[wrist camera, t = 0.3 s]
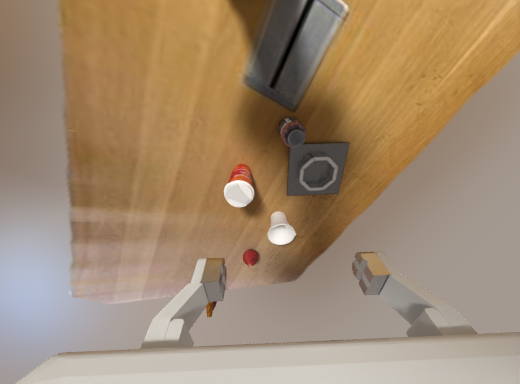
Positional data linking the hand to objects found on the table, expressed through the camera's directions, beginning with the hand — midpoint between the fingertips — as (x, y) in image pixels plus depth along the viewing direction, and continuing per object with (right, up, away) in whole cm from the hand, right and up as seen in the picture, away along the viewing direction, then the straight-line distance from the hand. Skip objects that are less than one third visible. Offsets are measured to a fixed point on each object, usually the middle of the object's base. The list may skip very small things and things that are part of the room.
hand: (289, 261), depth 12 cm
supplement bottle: (+6, +22, +40) cm, 47 cm away
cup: (+5, -4, +56) cm, 57 cm away
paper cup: (-8, +11, +47) cm, 49 cm away
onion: (-6, -19, +65) cm, 68 cm away
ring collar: (+15, +11, +47) cm, 51 cm away
